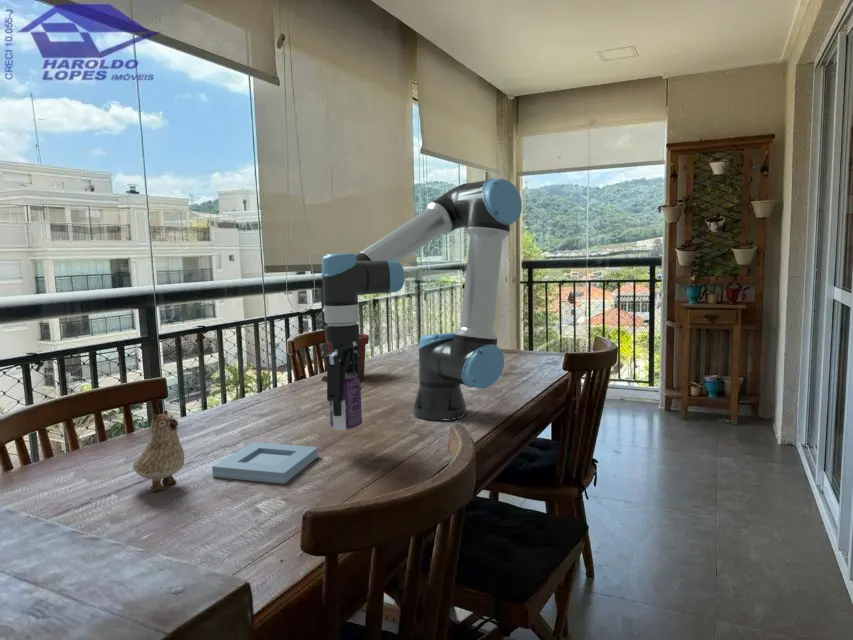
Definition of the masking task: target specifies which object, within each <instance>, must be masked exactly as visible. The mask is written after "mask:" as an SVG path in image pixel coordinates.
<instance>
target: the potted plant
mask: <svg viewBox="0 0 853 640" xmlns="http://www.w3.org/2000/svg"><path fill="white" fill-rule="evenodd" d="M325 342H326V343H325V344H326V345H327V346H329V355H331V354H332V346H333V345H332V343H329V342H327V341H326V340H325ZM369 342H370V335H369V334H366V333H359V340H358V341H355V342H353V345H358V346H359V351H358V356H359V368H360V379H361V381H363V380H365V363H366V346H367V345H368V344H369ZM321 381H322V382H325V383H327V375H324V376H322V377H321Z"/></svg>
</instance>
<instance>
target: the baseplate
mask: <svg viewBox="0 0 853 640" xmlns="http://www.w3.org/2000/svg"><path fill="white" fill-rule="evenodd" d="M317 458H319V447H318V446H307V445H295V444H294V445H293V444H284V443H283V444H282V443H271V442H257V441H253V442H251V443H250V444H247V445H246V446H244V447H242V448H241V449H239V450H237V451H236V452H234V453H232V454H231V455H229V456H228V457H226V458H224V459H222V460H221V461H219V462H216V463H215V464H214V465H212V467H211V468H212V469H211V470H212V477H213V478H221V479H232V480H240V481H241V480H242V481H250V482H262V483H270V484H271V483H272V484H283V485H285V484H286V483H288V482H289V481H290V480H291V479H292V478H294V477H295V476H296V475H297V474H299V473H300V472H301V471H303V469H305V468H306V467H308V466H309V465H310V464H311V463H312V462H313V461H315V460H316V459H317Z"/></svg>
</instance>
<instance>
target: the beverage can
mask: <svg viewBox="0 0 853 640" xmlns="http://www.w3.org/2000/svg"><path fill="white" fill-rule="evenodd" d="M360 387H361V385H360V380H359V378H358V374H357V373H355V372H350V373H347V372H345V382H344V393H343V400H345V412H346V430H345V431H348V430H353V429H356V428H357V427H358V426H361V425H362V423H363V416H362V415H363V413H362V395H361V394H362V392H361V391H362V387H361V388H360ZM328 403H329V422H330V424H329V425H330V426H331V427H333V409H332V401H328Z"/></svg>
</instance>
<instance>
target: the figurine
mask: <svg viewBox="0 0 853 640" xmlns="http://www.w3.org/2000/svg"><path fill="white" fill-rule="evenodd" d="M151 419H152V421H151V423H150V432H151V435H152V436H151V437H150V440H149V441H148V443H147V444H146V446H145V447H144V449H143V450H142V452H141V454H140V455H139V456H138V458H136V460H135V461H134V462H133V465H132V468H133V470H134V472H135V473H136V474H137V475H139V476H140V477H142V478H143V479H149V480H151V483H152V485H151V486H150V489H151V492H152V493H154V492H157V491H162V490H165V486H168V485H171V484H176V483H177V480H176V479H175V478H174V477H173V475H175V474H176V473H178V472H179V471H180V470H181V469H182V468H183V466H184V464H185V452H184V448H183V446H182V444H181V441H180V437H179V435H178V431H177V430H178V426H179V422H178V420H177V419H176V418H173V417H171V416H169V415H168V410H164V411H163V412H162V413H160V414H158V415H157V413H153V414H152V418H151ZM162 484H163V485H162ZM163 486H164V487H163Z"/></svg>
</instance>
